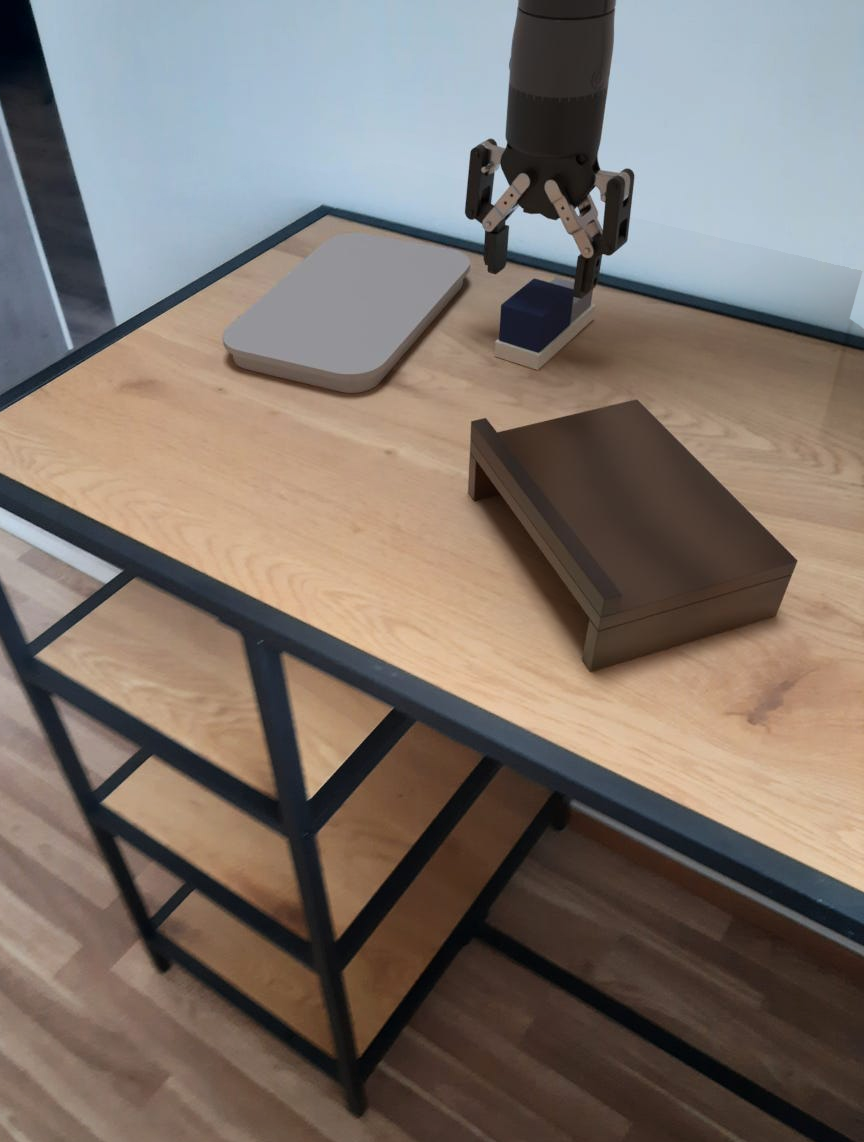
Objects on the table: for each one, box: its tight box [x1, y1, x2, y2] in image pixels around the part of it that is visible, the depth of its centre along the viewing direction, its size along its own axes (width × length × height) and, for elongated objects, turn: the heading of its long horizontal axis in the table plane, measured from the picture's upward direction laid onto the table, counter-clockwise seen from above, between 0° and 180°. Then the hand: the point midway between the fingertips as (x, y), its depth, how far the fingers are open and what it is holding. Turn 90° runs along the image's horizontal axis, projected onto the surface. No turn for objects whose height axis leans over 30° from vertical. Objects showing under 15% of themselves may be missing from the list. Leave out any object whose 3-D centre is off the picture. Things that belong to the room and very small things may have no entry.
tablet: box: [221, 232, 471, 394], centre depth 92 cm, size 16×26×2 cm, turn 155°
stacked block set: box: [493, 277, 596, 371], centre depth 87 cm, size 11×5×5 cm, turn 145°
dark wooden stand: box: [467, 398, 798, 672], centre depth 66 cm, size 14×20×6 cm
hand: (538, 282), depth 83 cm, fingers open, 8 cm apart
